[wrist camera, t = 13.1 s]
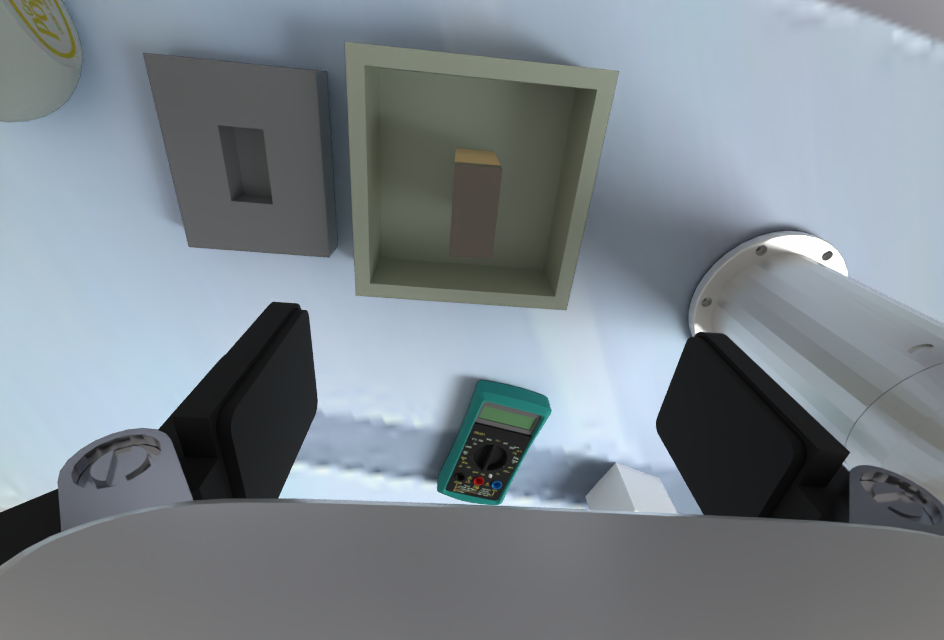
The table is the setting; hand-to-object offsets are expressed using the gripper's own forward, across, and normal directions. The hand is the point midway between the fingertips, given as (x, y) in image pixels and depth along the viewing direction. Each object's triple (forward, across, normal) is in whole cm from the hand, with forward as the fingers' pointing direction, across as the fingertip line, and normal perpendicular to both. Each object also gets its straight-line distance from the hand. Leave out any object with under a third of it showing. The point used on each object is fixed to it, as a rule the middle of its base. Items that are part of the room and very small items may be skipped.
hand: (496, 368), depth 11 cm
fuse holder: (+24, +15, 0) cm, 28 cm away
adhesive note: (+24, -20, +32) cm, 45 cm away
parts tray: (+24, 0, 0) cm, 24 cm away
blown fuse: (+24, 0, 0) cm, 24 cm away
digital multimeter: (+25, -4, +26) cm, 36 cm away
